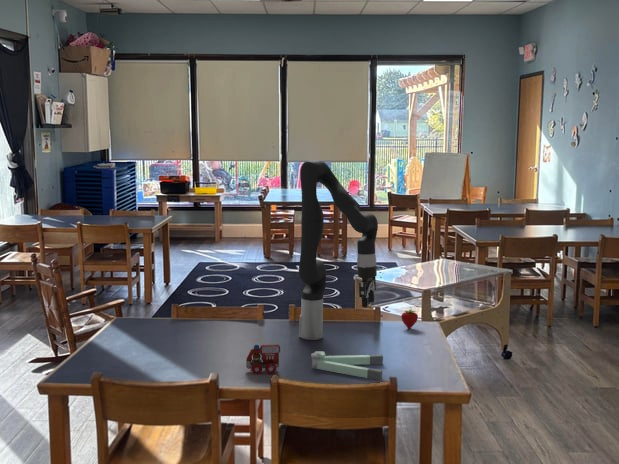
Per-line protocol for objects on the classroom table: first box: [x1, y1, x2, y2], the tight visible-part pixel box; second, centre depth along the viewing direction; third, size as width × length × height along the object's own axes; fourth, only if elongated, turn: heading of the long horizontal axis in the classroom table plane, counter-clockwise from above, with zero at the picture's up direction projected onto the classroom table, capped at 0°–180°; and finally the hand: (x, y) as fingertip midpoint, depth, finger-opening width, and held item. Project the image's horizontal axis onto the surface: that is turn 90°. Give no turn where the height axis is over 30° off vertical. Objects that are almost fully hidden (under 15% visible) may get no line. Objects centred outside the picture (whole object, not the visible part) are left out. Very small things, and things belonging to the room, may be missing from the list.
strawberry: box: [401, 306, 419, 330], centre depth 314 cm, size 6×8×10 cm
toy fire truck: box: [245, 344, 281, 375], centre depth 260 cm, size 7×12×10 cm, turn 94°
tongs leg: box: [311, 357, 383, 381], centre depth 260 cm, size 27×3×4 cm, turn 66°
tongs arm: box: [310, 350, 384, 366], centre depth 267 cm, size 28×5×5 cm, turn 96°
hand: (368, 304), depth 280 cm, fingers open, 8 cm apart
